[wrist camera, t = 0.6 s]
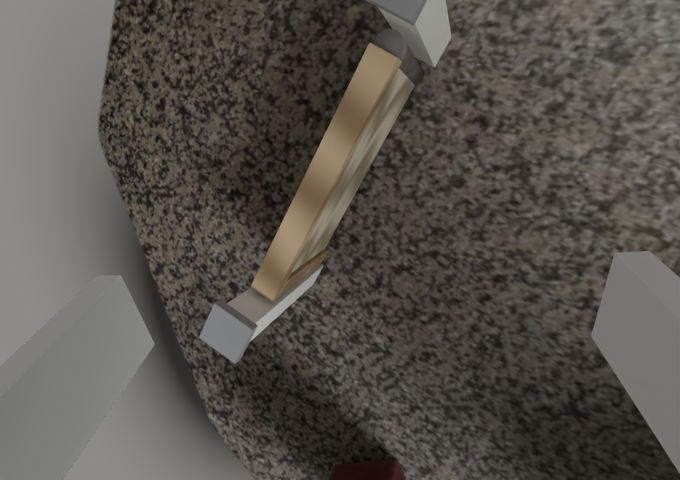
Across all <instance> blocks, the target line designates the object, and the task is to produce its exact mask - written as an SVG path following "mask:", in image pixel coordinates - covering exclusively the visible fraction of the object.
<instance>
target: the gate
mask: <svg viewBox="0 0 680 480" xmlns="http://www.w3.org/2000/svg"><path fill="white" fill-rule="evenodd" d="M422 79H423V69H422V68H421V66H420V64H419V63H418V61H417V60H416V58H415V56H414V55H413V53H412V52H411V50H410V48H409V47H408V45H407V44H406V42H405V40H404V39H403V37H402V36H401V34H400V33H399V32H398V31H397V30H395V29H385V30H383V31H381V32H380V33H379V34H378V35H377V36H376V38H375V40H374V44H372V43H369V45H368V47H367V49H366V51H365V53H364V55H363V57H362V59H361V61H360V63H359V65H358V67H357V69H356V71H355V73H354V75H353V78H352V80H351V82H350V84H349V86H348V88H347V90H346V92H345V94H344V96H343V98H342V100H341V102H340V104H339V106H338V108H337V110H336V112H335V114H334V117H333V119H332V121H331V123H330V125H329V127H328V129H327V131H326V133H325V135H324V137H323V139H322V141H321V143H320V145H319V147H318V149H317V151H316V154H315V156H314V158H313V160H312V162H311V164H310V166H309V168H308V170H307V172H306V174H305V176H304V178H303V180H302V182H301V184H300V186H299V188H298V191H297V193H296V195H295V197H294V199H293V201H292V203H291V205H290V207H289V209H288V211H287V213H286V215H285V217H284V219H283V221H282V223H281V225H280V227H279V230H278V232H277V234H276V236H275V238H274V240H273V242H272V244H271V246H270V248H269V250H268V252H267V254H266V256H265V258H264V260H263V262H262V264H261V267H260V269H259V271H258V273H257V275H256V277H255V279H254V281H253V283H252V285H251V286H252V288H253V289H254V290H256V291H257V292H259V293H260V294H262V295H263V296H265V297H266V298H268V299H269V300H270V301H272V302H273V301H274V300H276V299H277V298H278V297H279V296H281V295H282V294H283V293H284V292H285V291H287V290H288V289H289V288H290V287H292V286H293V285H294V284H295V283H297V282H298V281H299V280H300V279H301V278H303V277H304V276H305V275H306V274H308V273H309V272H310V271H311V270H312V269H314V268H315V267H316V266H317V265H319V264H320V263H321V262H322V261H323V259H324V257H325V256H326V254H327V252H328V250H329V249H328V248H327V247H326V246H327V244H328V242H329V240H330V239H331V237H332V235H333V233H334V231H335V229H336V228H337V226H338V224H339V222H340V220H341V219H342V217H343V215H344V213H345V211H346V209H347V208H348V206H349V204H350V202H351V200H352V199H353V197H354V195H355V193H356V191H357V190H358V188H359V186H360V184H361V182H362V180H363V179H364V177H365V175H366V173H367V171H368V170H369V168H370V166H371V164H372V162H373V160H374V159H375V157H376V155H377V153H378V151H379V150H380V148H381V146H382V144H383V142H384V140H385V139H386V137H387V135H388V133H389V131H390V130H391V128H392V126H393V124H394V122H395V121H396V119H397V117H398V115H399V113H400V111H401V110H402V108H403V106H404V104H405V102H406V101H407V99H408V97H409V95H410V93H411V91H412V90H413V88H414V86H416V85H418V84H419V83H420V82H421V81H422Z"/></svg>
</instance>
